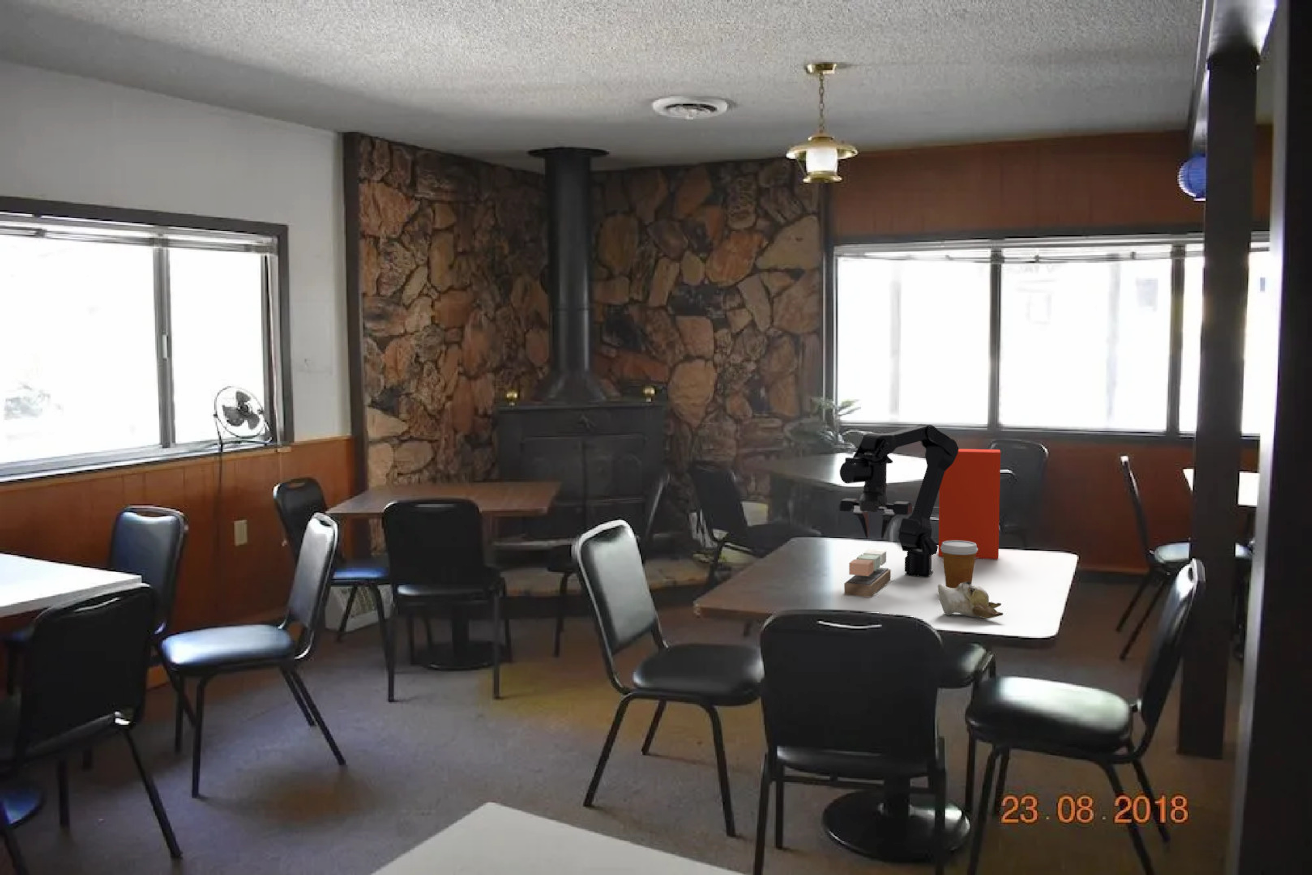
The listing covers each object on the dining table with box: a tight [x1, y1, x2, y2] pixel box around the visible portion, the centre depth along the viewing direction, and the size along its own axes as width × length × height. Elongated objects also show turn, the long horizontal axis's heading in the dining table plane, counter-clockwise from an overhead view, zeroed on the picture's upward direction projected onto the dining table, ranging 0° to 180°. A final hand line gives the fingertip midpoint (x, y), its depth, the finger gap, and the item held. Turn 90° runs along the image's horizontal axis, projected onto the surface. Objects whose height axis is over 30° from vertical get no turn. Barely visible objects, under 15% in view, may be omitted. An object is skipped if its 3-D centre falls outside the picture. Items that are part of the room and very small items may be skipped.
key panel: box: [843, 567, 892, 598], centre depth 285 cm, size 7×21×3 cm, turn 154°
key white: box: [862, 549, 887, 567], centre depth 291 cm, size 5×5×3 cm
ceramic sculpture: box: [937, 581, 1004, 619], centre depth 255 cm, size 11×9×15 cm
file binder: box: [937, 448, 1002, 560], centre depth 324 cm, size 8×17×32 cm, turn 74°
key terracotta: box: [848, 558, 873, 576], centre depth 278 cm, size 5×5×3 cm
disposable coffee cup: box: [940, 540, 978, 588], centre depth 282 cm, size 10×10×12 cm
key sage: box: [856, 553, 881, 571], centre depth 284 cm, size 5×5×3 cm
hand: (874, 538), depth 290 cm, fingers open, 4 cm apart
